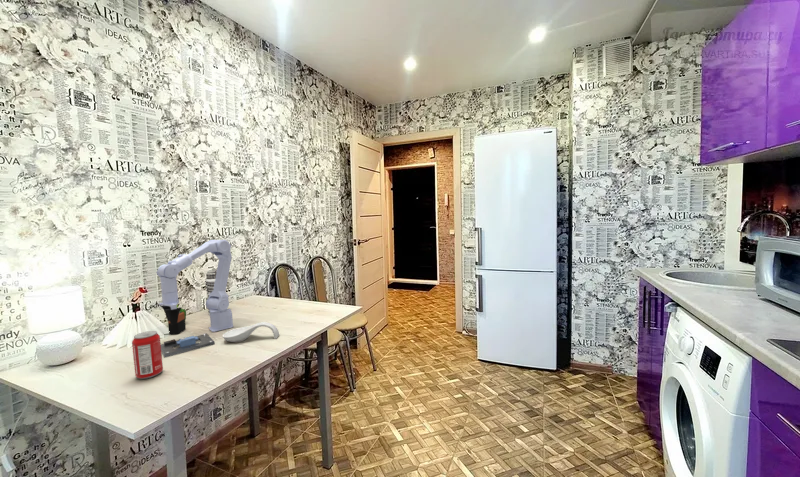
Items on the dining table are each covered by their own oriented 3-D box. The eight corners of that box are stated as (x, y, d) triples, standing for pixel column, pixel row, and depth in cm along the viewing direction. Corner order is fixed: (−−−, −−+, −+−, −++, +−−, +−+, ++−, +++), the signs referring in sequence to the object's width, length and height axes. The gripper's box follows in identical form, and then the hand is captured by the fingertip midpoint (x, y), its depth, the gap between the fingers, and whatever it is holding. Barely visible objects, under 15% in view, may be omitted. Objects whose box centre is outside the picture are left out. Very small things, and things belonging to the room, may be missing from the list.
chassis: (206, 335, 155) (206, 331, 155) (214, 344, 144) (214, 339, 144) (159, 347, 143) (159, 342, 143) (164, 357, 132) (163, 352, 132)
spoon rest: (218, 346, 143) (216, 329, 142) (229, 335, 155) (228, 320, 154) (274, 342, 145) (273, 326, 144) (281, 332, 156) (280, 317, 156)
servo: (197, 342, 147) (196, 333, 147) (198, 344, 145) (198, 335, 145) (176, 347, 142) (175, 338, 142) (178, 349, 140) (177, 340, 140)
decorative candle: (205, 313, 190) (201, 270, 188) (222, 309, 197) (218, 268, 195) (211, 316, 184) (207, 272, 182) (228, 312, 191) (225, 269, 189)
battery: (186, 329, 165) (184, 309, 164) (178, 334, 158) (176, 314, 157) (177, 330, 164) (175, 310, 164) (168, 335, 158) (166, 314, 157)
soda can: (141, 382, 113) (137, 339, 111) (131, 377, 117) (127, 335, 115) (167, 372, 119) (163, 332, 118) (157, 367, 123) (153, 328, 122)
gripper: (155, 290, 146) (158, 320, 148) (161, 296, 136) (164, 328, 137) (174, 288, 151) (177, 317, 152) (181, 293, 141) (184, 324, 142)
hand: (172, 322), depth 145 cm, fingers open, 7 cm apart
